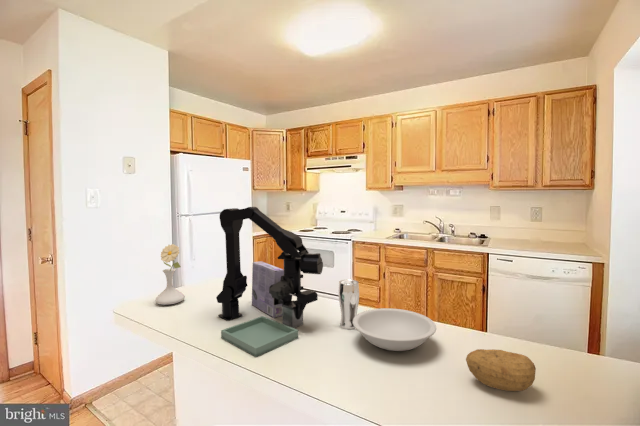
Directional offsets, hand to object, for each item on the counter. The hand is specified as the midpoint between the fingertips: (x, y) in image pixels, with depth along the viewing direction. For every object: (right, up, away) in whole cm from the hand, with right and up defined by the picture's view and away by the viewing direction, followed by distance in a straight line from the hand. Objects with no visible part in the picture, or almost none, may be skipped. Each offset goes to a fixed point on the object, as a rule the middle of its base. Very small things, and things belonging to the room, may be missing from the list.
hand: (292, 317), depth 110 cm
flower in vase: (-53, -2, +24) cm, 58 cm away
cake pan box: (-11, -2, +14) cm, 18 cm away
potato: (+50, -4, -37) cm, 62 cm away
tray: (-9, -3, -10) cm, 14 cm away
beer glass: (+19, -3, -1) cm, 19 cm away
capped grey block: (0, -3, 0) cm, 2 cm away
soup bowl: (+31, -3, -15) cm, 35 cm away
